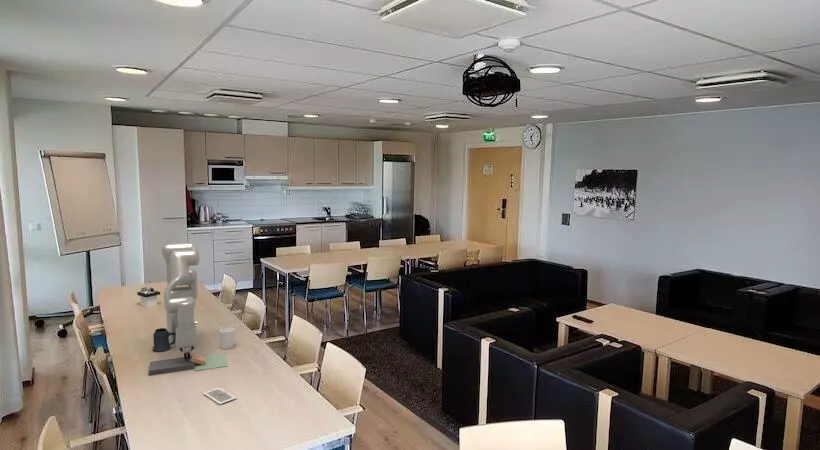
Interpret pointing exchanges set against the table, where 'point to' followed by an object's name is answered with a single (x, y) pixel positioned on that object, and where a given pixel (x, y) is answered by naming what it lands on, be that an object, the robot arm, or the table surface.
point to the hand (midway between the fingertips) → (187, 359)
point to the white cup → (227, 338)
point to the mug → (162, 340)
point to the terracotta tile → (197, 359)
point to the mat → (212, 362)
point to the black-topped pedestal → (148, 296)
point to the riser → (170, 366)
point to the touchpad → (219, 395)
